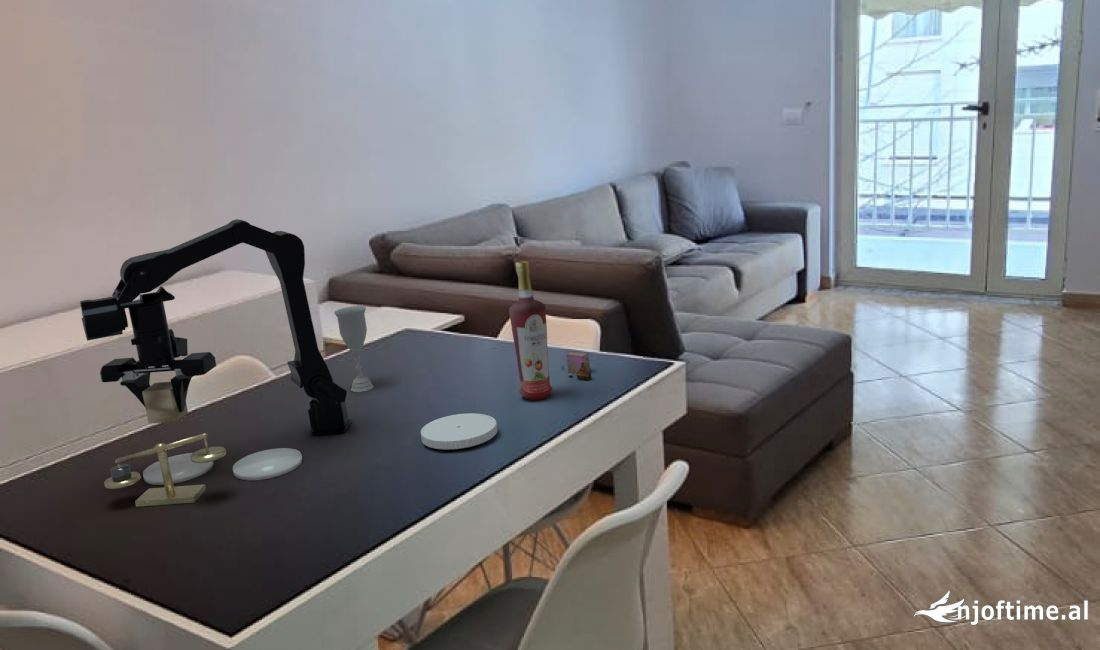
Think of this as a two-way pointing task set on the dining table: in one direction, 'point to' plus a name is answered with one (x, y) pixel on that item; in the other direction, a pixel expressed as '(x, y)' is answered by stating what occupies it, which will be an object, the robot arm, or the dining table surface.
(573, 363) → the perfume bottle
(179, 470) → the pale round disc
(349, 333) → the chalice
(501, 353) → the dining table surface
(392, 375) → the dining table surface
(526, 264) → the liquor
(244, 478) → the shallow white plate
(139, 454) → the balance
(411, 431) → the dining table surface
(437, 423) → the plastic lid
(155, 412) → the block
